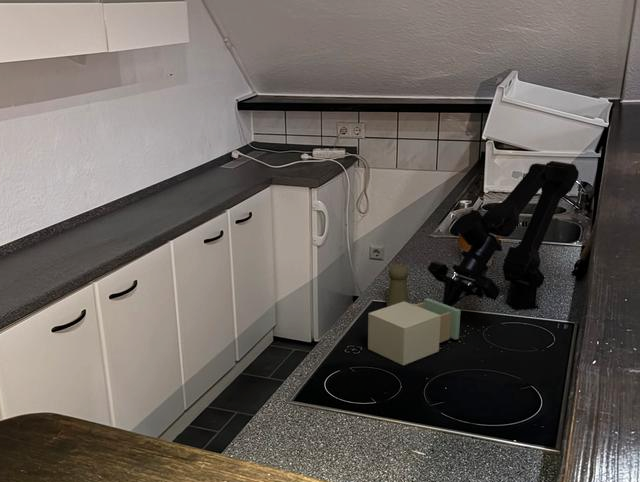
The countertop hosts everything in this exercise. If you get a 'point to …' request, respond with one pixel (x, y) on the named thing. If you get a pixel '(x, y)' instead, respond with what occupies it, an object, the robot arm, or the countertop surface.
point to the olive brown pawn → (397, 285)
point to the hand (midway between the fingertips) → (444, 308)
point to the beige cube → (403, 332)
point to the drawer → (444, 318)
